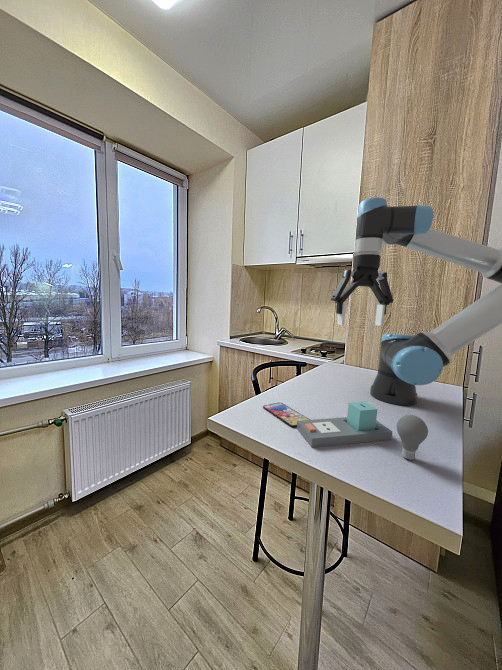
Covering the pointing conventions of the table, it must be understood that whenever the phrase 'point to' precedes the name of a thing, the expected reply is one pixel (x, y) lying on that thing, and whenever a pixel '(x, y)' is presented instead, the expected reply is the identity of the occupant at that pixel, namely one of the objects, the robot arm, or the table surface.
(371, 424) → the block
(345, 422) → the power strip
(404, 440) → the light bulb
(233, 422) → the table surface
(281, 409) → the smartphone
